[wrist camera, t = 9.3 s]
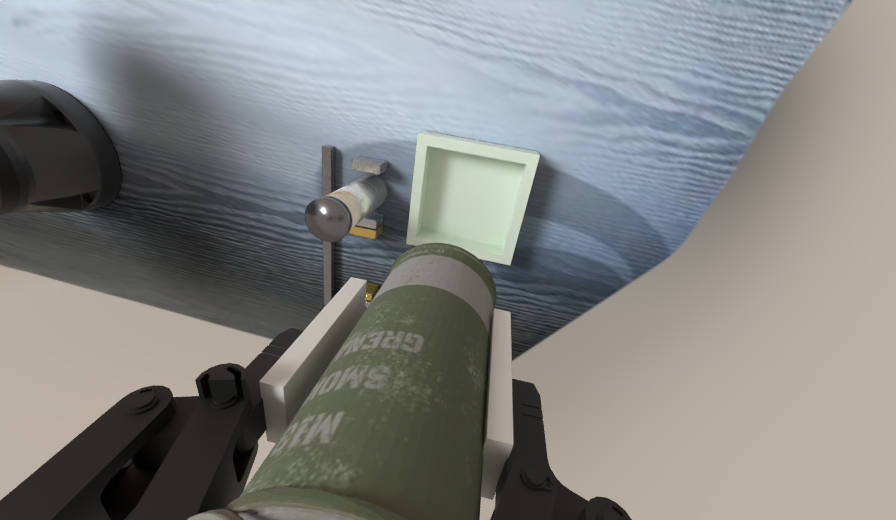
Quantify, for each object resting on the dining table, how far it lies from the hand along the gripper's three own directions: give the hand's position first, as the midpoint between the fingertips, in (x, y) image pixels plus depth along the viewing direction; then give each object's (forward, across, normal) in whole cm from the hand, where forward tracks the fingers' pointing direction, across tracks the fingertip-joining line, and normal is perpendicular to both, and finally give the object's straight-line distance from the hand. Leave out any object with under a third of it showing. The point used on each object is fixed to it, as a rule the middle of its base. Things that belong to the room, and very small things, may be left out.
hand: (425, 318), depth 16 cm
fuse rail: (+23, -13, -10) cm, 28 cm away
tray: (+23, 0, 0) cm, 23 cm away
